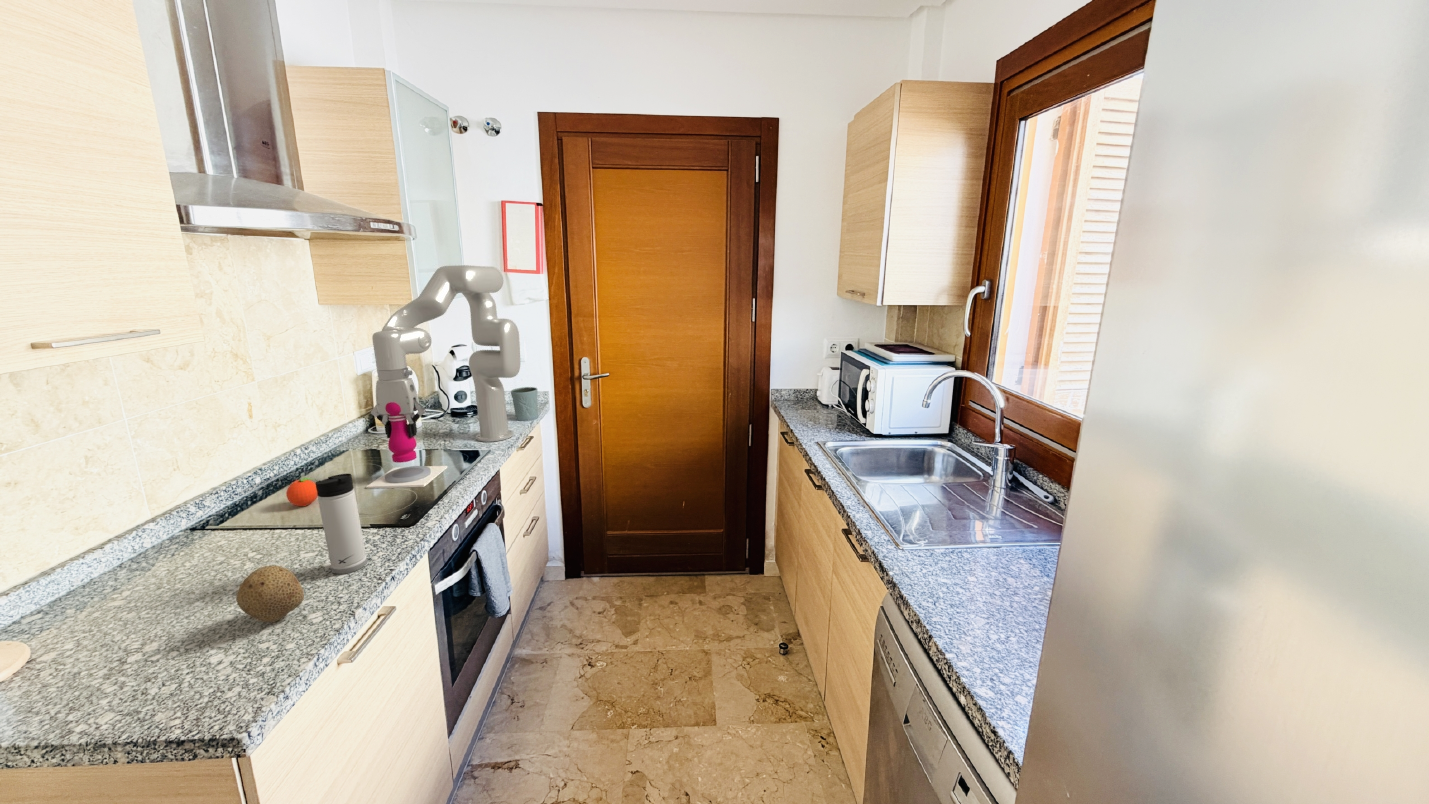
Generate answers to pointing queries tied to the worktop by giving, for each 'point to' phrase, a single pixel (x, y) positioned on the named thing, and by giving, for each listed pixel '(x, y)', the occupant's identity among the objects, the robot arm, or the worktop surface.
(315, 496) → the clementine
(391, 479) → the cream square board
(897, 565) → the worktop surface
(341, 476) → the travel mug
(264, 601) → the brown potato
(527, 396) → the green plant pot
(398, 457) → the pepper mill
